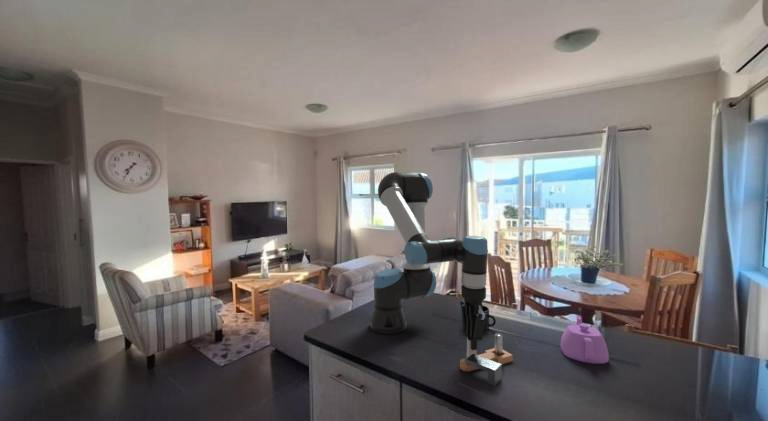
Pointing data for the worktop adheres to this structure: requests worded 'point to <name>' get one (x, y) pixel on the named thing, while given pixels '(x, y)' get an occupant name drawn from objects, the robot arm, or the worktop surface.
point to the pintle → (498, 344)
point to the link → (489, 355)
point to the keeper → (487, 367)
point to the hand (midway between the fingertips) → (471, 357)
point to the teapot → (584, 343)
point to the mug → (487, 325)
